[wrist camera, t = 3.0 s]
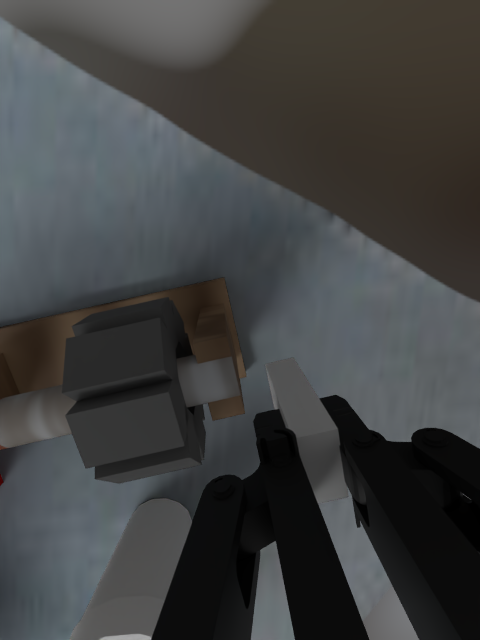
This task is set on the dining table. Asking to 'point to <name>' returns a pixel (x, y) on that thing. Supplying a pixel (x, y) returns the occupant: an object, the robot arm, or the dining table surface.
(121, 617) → the foam cup
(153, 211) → the dining table surface
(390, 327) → the dining table surface
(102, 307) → the pipe rig
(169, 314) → the dark gray notched block
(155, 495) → the dining table surface
